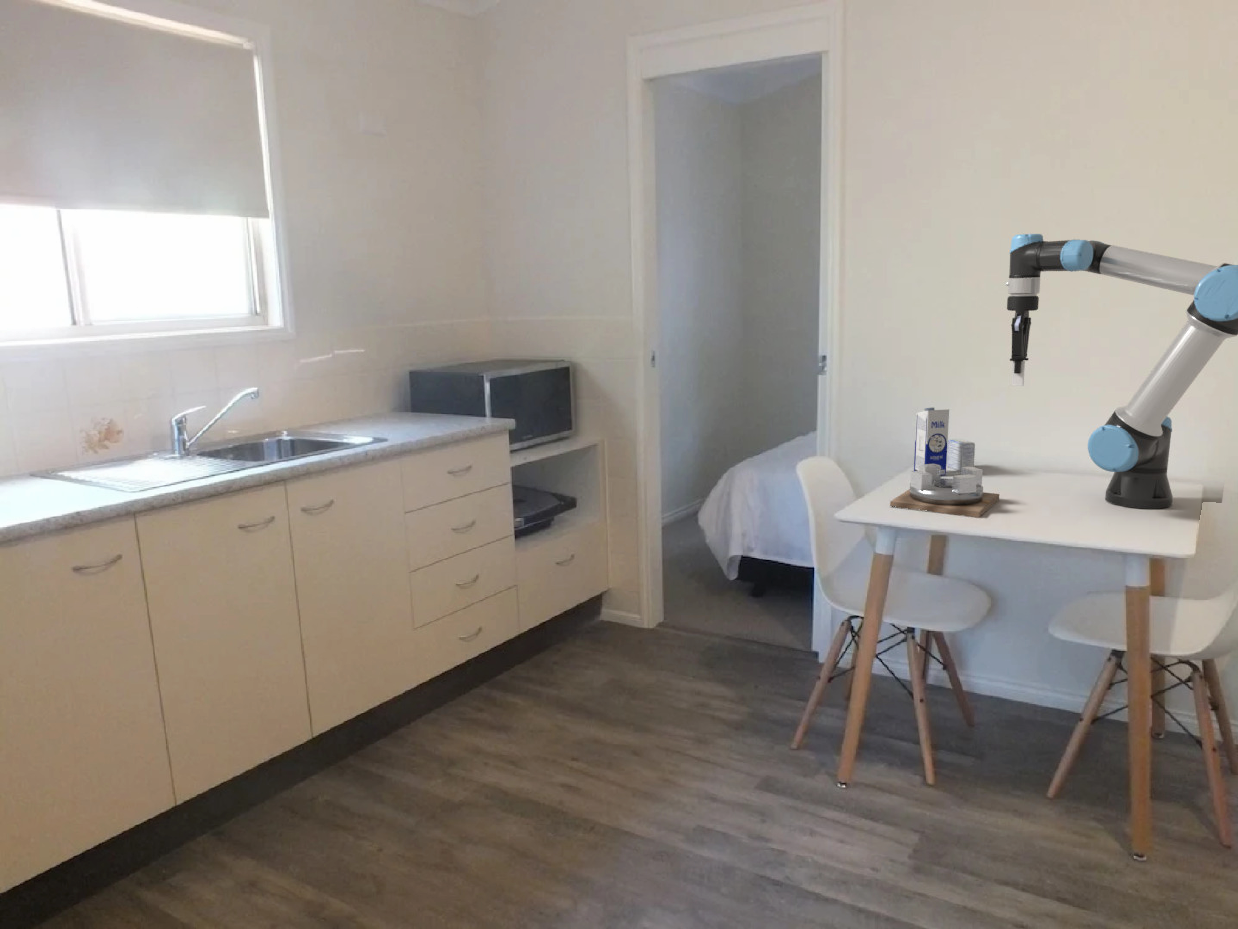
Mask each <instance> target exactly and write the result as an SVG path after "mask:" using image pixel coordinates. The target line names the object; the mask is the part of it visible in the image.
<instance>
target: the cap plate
mask: <svg viewBox="0 0 1238 929" xmlns="http://www.w3.org/2000/svg"><path fill="white" fill-rule="evenodd" d="M999 500H1000V493H994V492H984V491H983V499H982V501H981V502H978V503H975V504H968V505H941V504H932V503H926V502H921V501H918V500H915V499H913V498H911V497H910V488H908V490H905V491H904V492H903V493H901V494H900V495H898V496H897V497H895V498H893V499H892V500H890V501H889V502H890V504H889V507H890V506H896V507H901V508H900V509H902V508H908V509H907V510H911V509H920V510H927V511H932V512H931V513H936V512H940V513H939V514H944V513H947V514H946V515H952V514H953V515H954V516H961V515H965V516H964V517H969V516H971V517H970V518H981V516H983V515H984V514H985V513H986V512H987V511H988V510H989V509H990V508H991V507H993V506H994V505H995V504H996V503H998V502H999ZM927 511H926V512H927Z"/></svg>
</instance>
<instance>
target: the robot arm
mask: <svg viewBox="0 0 1238 929" xmlns="http://www.w3.org/2000/svg"><path fill="white" fill-rule="evenodd" d="M1082 271H1083V272H1088V273H1093V274H1097V275H1102V276H1105V277H1106V276H1108V277H1111V278H1116V279H1120V280H1125V281H1129V282H1132V283H1133V282H1134V283H1138V284H1143V285H1147V286H1150V287H1151V286H1152V287H1156V288H1159V289H1162V290H1163V289H1165V290H1169V291H1172V292H1177V293H1181V294H1186V295H1190V296H1191V295H1192V296H1193V300H1192V302H1191V303H1190V304H1189V306H1188V307H1187V308H1186V310H1185V313H1186V318H1187V321H1186V322H1185V324H1184V325H1183V327H1182V328H1181V329H1180V331H1178V334H1177V335H1176V336H1175V338H1174V339H1173V340H1172V342H1171V344H1169V346H1168V348H1166V350H1165V352H1164V353H1163V355H1162V356H1161V357H1160V359H1159V360H1158V361H1157V363H1156V364H1155V366H1153V368H1152V370H1150V373H1149V374H1148V376H1147V377H1146V378H1145V380H1144V381H1143V382H1142V384H1141V385H1140V386H1139V388H1138V389H1137V391H1136V392H1135V394H1134V395H1133V396H1132V397H1131V399H1130V401H1128V403H1127V404H1126V405H1125V406H1121V407H1116V409H1115V410H1114V411H1113V413H1112V414H1111V416H1110V417H1109V418H1108V420H1107V421H1106V422H1105V424H1104V425H1101V426H1099V427H1098V428H1096V429H1095V430H1094V431H1093V432H1092V433H1091V434H1090V436H1089V439H1088V441H1087V451H1088V455H1089V457H1090V460H1092V462H1093V463H1094V464H1095V465H1096V466H1097V467H1099V468H1100V469H1102V470H1104V471H1106V472H1112V473H1113V474H1112V477H1111V478H1110V479H1111V480H1110V481H1109V483H1108V486H1107V488H1106V490H1105V497H1104V500H1105V501H1106V502H1108V503H1110V504H1113V505H1117V506H1122V507H1127V508H1135V509H1150V510H1151V509H1165V508H1170V507H1172V506H1173V493H1172V489H1171V486H1170V482H1169V481H1170V480H1169V479H1168V467H1169V456H1170V447H1171V437H1172V432H1173V426H1172V425H1173V424H1172V423H1173V422H1172V418H1171V417H1169V414H1170V413H1171V412H1172V410H1173V409H1174V408H1175V406H1176V405H1177V404H1178V403H1179V401H1180V400H1181V399H1182V397H1183V396H1184V394H1185V393H1186V392H1187V390H1189V388H1190V386H1191V385H1192V384H1193V382H1195V380H1196V378H1197V377H1198V376H1199V374H1200V373H1201V372H1202V371H1203V369H1204V368H1205V367H1206V365H1207V364H1208V363H1209V361H1210V360H1211V358H1212V357H1213V356H1214V355H1215V353H1216V351H1218V349H1219V348H1220V346H1221V345H1222V344H1223V342H1224V341H1225V340H1227V339H1230V338H1233V337H1237V336H1238V264H1233V263H1232V264H1231V263H1227V262H1223V263H1221V264H1219V265H1213V264H1207V263H1202V262H1197V261H1193V260H1187V259H1183V258H1177V257H1172V256H1167V255H1163V254H1157V253H1153V252H1148V251H1143V250H1137V249H1133V248H1128V247H1122V246H1117V245H1111V244H1107V243H1104V242H1101V241H1098V240H1088V239H1075V238H1074V239H1067V240H1053V241H1052V240H1051V241H1046V240H1045V241H1044V236H1043V234H1041V233H1023V234H1015V235H1013V236H1012V238H1011V243H1010V251H1009V275H1008V281H1007V282H1006V284H1005V286H1006V287H1008V288H1007V293H1008V294H1009V295H1010V296H1009V295H1008V296H1007V300H1006V302H1007V303H1006V310H1007V311H1011V312H1013V311H1015V312H1014V317H1012V321H1011V325H1010V326H1011V357H1010V358H1009V361H1010V362H1012V372H1011V386H1012V387H1013V386H1014V387H1017V386H1018V387H1023V386H1024V382H1025V381H1024V380H1025V370H1026V369H1025V367H1026V362H1027V361H1029V358H1028V348H1029V340H1030V339H1029V337H1030V330H1031V325H1032V317H1030V311H1033V312H1034V311H1037V310H1039V301H1040V300H1039V299H1040V297H1039V296H1038V294H1039V293H1040V291H1041V272H1082Z"/></svg>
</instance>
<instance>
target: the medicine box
mask: <svg viewBox="0 0 1238 929" xmlns="http://www.w3.org/2000/svg"><path fill="white" fill-rule="evenodd" d="M975 447H976V443H975V442H973V441H969V440H965V439H962V438H955V439H953V438H952V439H948V443H947V462H946V467H947V466H948V467H947V468H950V469H953V470H957V471H958V472H959V471H960V472H961V467H970V466H971V467H975V457H976V456H975V452H976V450H975V449H976V448H975Z"/></svg>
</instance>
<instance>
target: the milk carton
mask: <svg viewBox="0 0 1238 929" xmlns="http://www.w3.org/2000/svg"><path fill="white" fill-rule="evenodd" d="M915 414H916V415H915V432H914V433H915V436H914V437H915V438H914V440H915V441H914V458H913V459H914V460H913V471H919V465H924V464H937V465H940V466H941V477H942V476H946V475H947V454H948V440H949V421H950V420H949V419H950V409H935V407H925V408H924V410H923V411H919V412H916V413H915Z"/></svg>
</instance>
